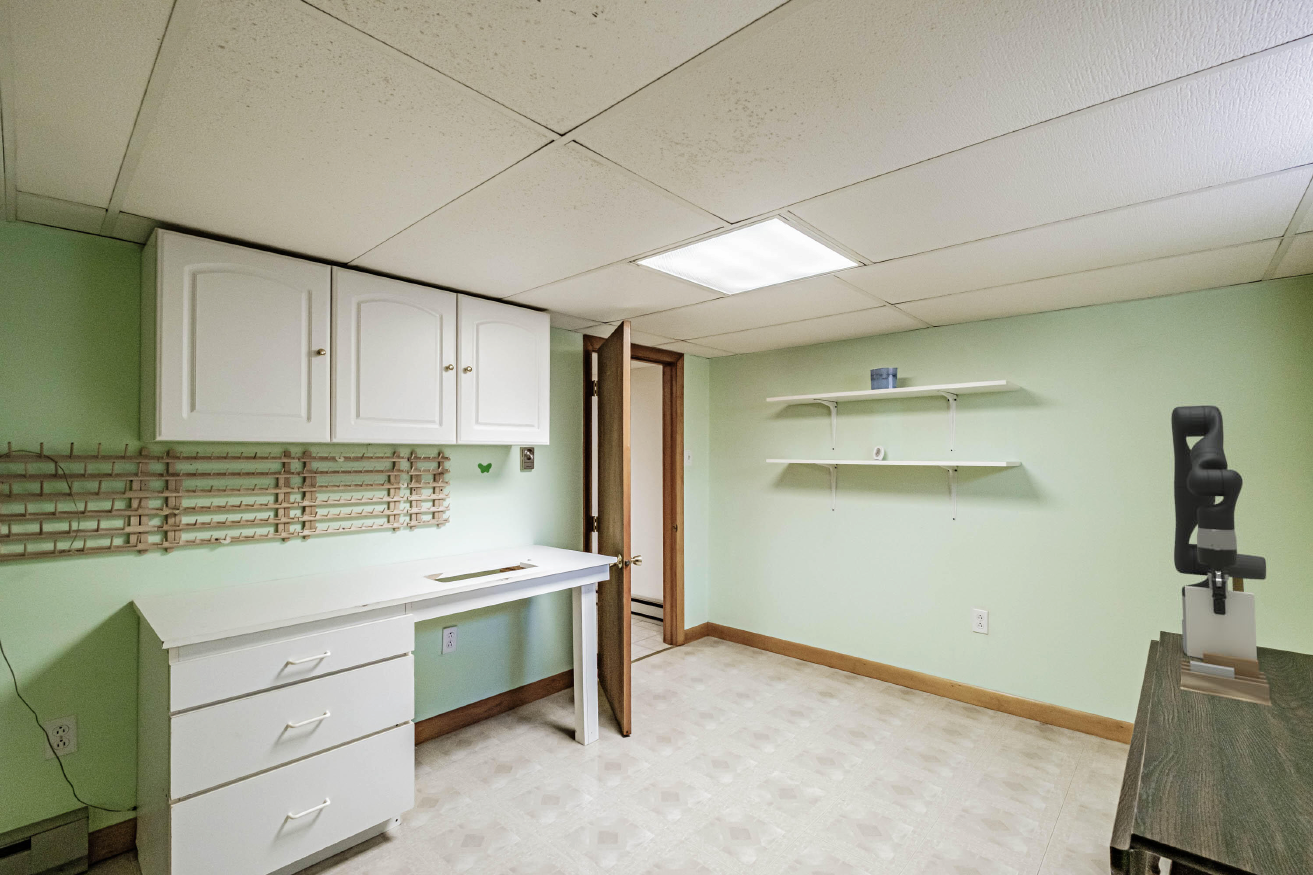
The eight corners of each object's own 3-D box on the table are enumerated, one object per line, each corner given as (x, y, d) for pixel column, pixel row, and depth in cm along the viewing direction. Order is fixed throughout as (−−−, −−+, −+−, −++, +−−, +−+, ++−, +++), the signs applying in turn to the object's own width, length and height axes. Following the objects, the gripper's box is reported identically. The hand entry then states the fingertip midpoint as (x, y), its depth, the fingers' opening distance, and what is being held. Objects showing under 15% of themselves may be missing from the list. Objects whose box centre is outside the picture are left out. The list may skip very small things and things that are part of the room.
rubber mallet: (1271, 654, 179) (1266, 554, 180) (1268, 660, 174) (1264, 557, 175) (1215, 645, 188) (1211, 550, 189) (1211, 649, 183) (1207, 552, 185)
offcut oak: (1204, 682, 153) (1202, 651, 153) (1259, 692, 146) (1257, 660, 146) (1204, 685, 151) (1203, 653, 152) (1260, 695, 145) (1258, 662, 145)
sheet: (1187, 653, 158) (1184, 585, 159) (1256, 664, 149) (1253, 592, 150) (1187, 655, 157) (1184, 586, 157) (1257, 666, 148) (1254, 594, 149)
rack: (1181, 676, 161) (1180, 656, 161) (1265, 691, 150) (1264, 670, 150) (1180, 693, 149) (1179, 672, 149) (1272, 711, 138) (1271, 688, 139)
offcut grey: (1191, 684, 152) (1190, 660, 152) (1234, 692, 146) (1233, 668, 147) (1191, 686, 150) (1190, 662, 150) (1235, 695, 145) (1234, 670, 145)
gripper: (1197, 541, 162) (1199, 605, 161) (1197, 547, 151) (1200, 616, 151) (1235, 544, 157) (1238, 610, 156) (1238, 550, 146) (1241, 621, 146)
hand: (1219, 612), depth 153 cm, fingers closed on sheet, 2 cm apart
